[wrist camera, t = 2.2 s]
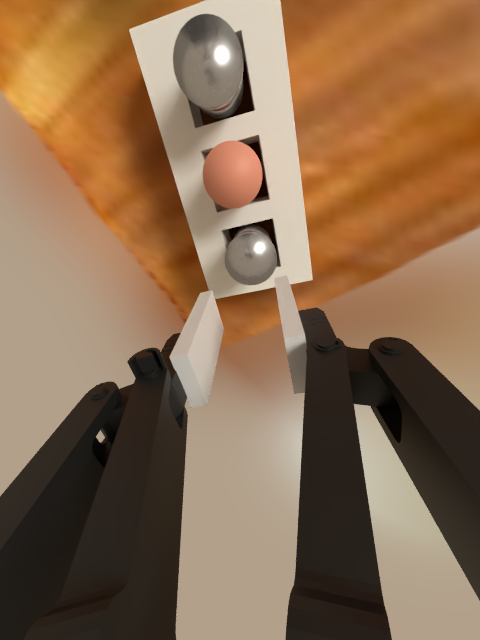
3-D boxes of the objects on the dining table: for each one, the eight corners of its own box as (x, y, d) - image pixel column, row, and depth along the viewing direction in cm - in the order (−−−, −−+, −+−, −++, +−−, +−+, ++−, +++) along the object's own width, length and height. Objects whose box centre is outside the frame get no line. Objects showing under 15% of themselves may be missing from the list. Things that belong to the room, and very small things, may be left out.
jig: (153, 57, 27) (128, 29, 22) (272, 15, 25) (277, -27, 20) (217, 282, 38) (211, 299, 32) (304, 264, 36) (312, 279, 31)
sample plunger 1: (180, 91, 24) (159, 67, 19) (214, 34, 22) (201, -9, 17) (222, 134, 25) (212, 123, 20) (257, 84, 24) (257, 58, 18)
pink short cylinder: (203, 178, 27) (190, 179, 22) (234, 134, 25) (229, 124, 20) (239, 212, 29) (235, 220, 23) (271, 173, 27) (275, 173, 21)
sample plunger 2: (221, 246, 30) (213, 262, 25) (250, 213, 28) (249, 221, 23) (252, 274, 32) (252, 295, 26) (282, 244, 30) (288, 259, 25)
